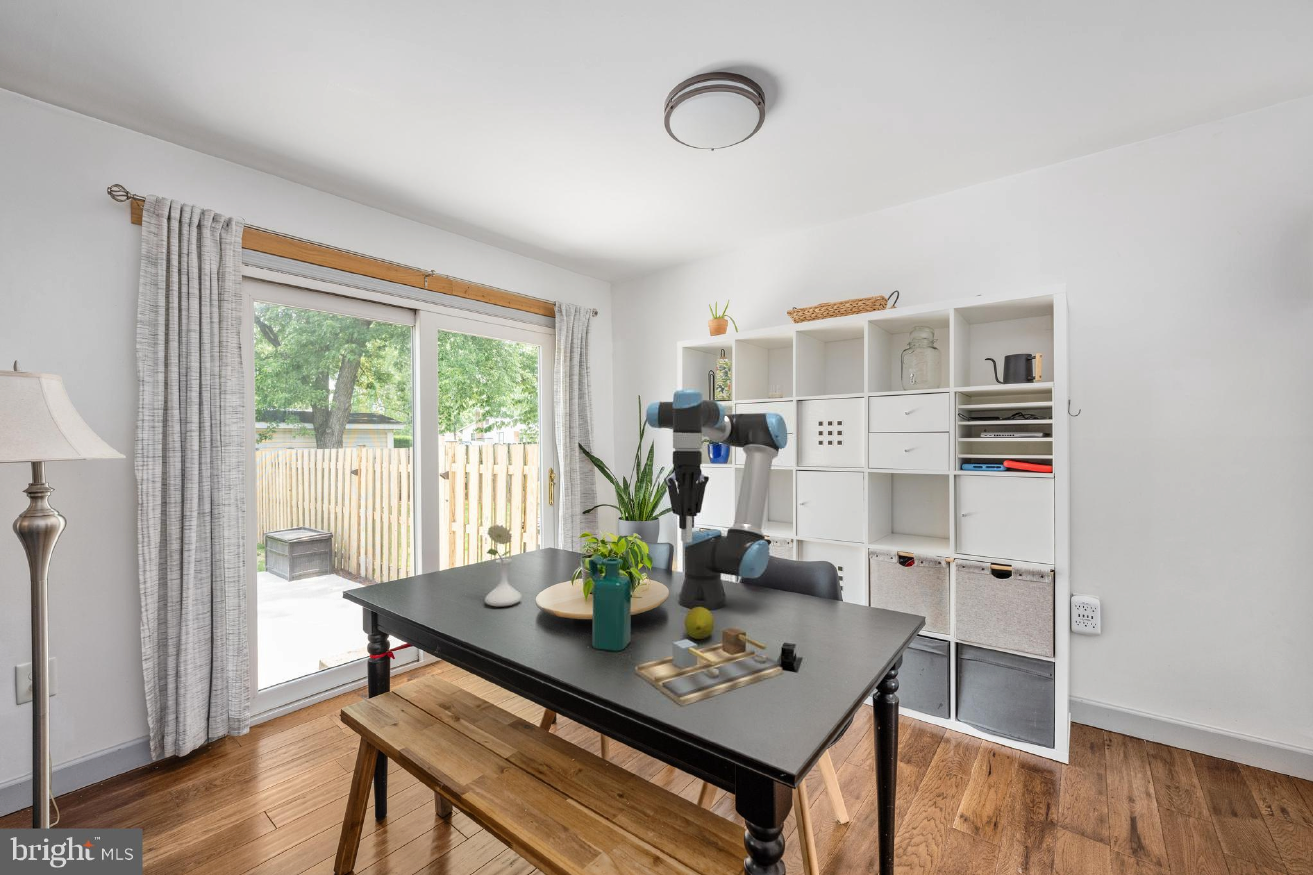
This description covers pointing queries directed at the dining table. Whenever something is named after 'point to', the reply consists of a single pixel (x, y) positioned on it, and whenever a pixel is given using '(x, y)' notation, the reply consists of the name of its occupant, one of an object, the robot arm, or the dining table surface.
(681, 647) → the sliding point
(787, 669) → the black stand
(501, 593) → the flower in vase
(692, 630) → the lemon
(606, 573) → the pitcher
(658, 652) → the dining table surface
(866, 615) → the dining table surface
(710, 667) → the gauge board
